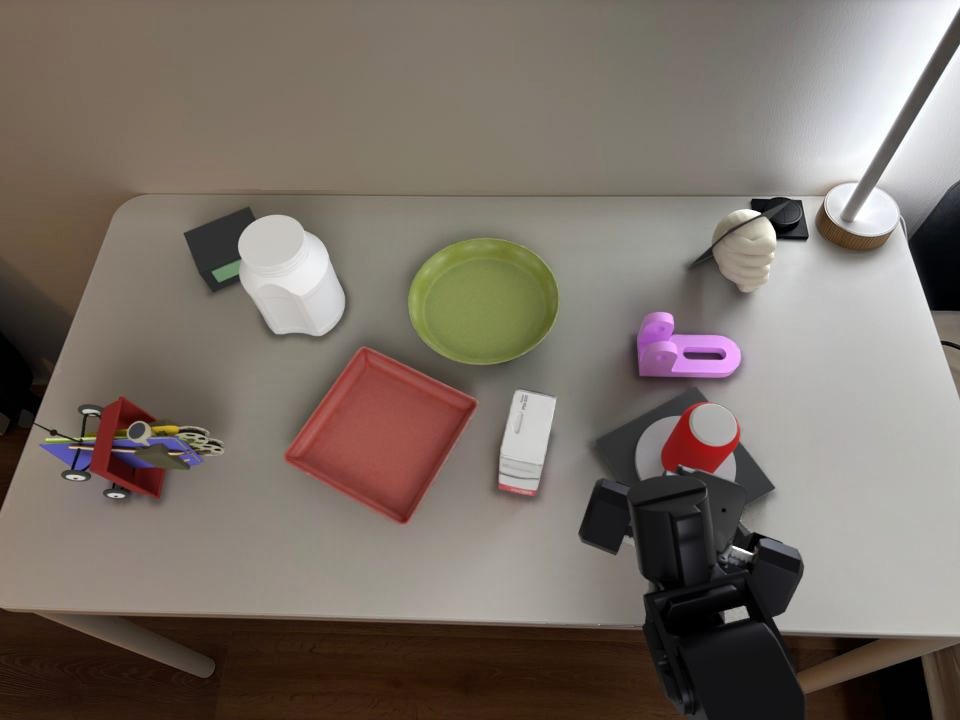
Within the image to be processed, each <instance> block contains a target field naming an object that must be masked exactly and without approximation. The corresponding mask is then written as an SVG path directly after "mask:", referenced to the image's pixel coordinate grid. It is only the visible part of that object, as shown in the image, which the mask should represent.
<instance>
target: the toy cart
mask: <svg viewBox="0 0 960 720" xmlns="http://www.w3.org/2000/svg"><path fill="white" fill-rule="evenodd" d="M77 412H78V413H79V414H80V415H82V416H83V418H82V423H81V424H82V425H81V433H80V436H79V437H71V436H67V435H64V434H62V433H60V432H58V430H57V429H55V428H53V429H49V428H47V427H45V426H43V425H40V424H38V423H36V422H34V417H35V416H34V414H33V413H32V412H31V411H29V410H27V409H24V408H22V409H21V412H20V415H19V419H18V422H17V426H19V427H20V428H25V429H30V428H32V426H33V425H35V426H37V427H39V428H41V429H42V430H45V431H47V432H49V435H50V436H52V437H44V438H43V439H44V440H43V441H44V442H42V443H39V444H38V446H39V447H41V448H42V449H43V450H45V451H46V452H48V453H50V454H51V455H52V456H54V457H56V458H57V459H58V460H60V461H61V462H63V463H65V464H66V465H67V466H69V467H70V469H66V470H63V471H61V473H60V476H61V478H62V479H63V480H66V481H69V482H70V481H71V482H87V481H90V480H91V479H92V474H91V473H93V474H95V475H97V476H99V477H101V478H104V479H106V480H108V481H110V482H112V485H111V488H106V489H104V490H103V491H102V495H103V496H104V497H105V498H108V499H113V500H125V499H128V498H129V497H131V493H130V491H131V492H132V493H133V492H134V493H135V494H140V495H145V496H150V497H152V498H153V499H156V500H160V499H161V495H162V489H163V483H164V477H165V472H166V469H169V470H182V471H183V470H184V471H190V470H191V466H198V465H199V464H200V463H204V461H205V460H204V459H203V458H202V457H201V456H205V457H216V456H221V455H223V454H224V453H225V451H224V449H223V448H225V446H226V443H224V441H222V440H220V439H217V438H212V437H211V438H210V437H209V436H210V432H209V431H208V430H207V429H206V428H203V427H199V426H194V425H193V426H192V425H184V426H180V425H178V424H176V423H174V422H173V421H172V420H171V419H170V418H168V417H166V418H162V419H158V418H156V417H155V416H153V415H151V414H150V413H149V412H147V411H146V410H144V409H142V408H141V407H139V405H137V404H135V403H133V402H132V401H130V400H129V399H127V398H126V397H125V396H122V395H120V396H118V399H117V400H115V401H113V402H111V403H109V404H107V405H106V406H104V407H103V406H101V405H97V404H92V403H85V404H81V405H79V406H78V407H77ZM88 417H89V418H98V419H99V420H100V421H99V424H98V429H97V431H93V432H86V428H87V427H86V426H87V419H88ZM32 424H33V425H32ZM203 431H204V432H203ZM205 432H206V433H205ZM56 436H58V437H56ZM88 471H89V472H88ZM90 472H91V473H90ZM116 485H119V486H121V487H120V488H117V487H116ZM126 489H127V490H126Z"/></svg>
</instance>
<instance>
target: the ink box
mask: <svg viewBox="0 0 960 720" xmlns="http://www.w3.org/2000/svg"><path fill="white" fill-rule="evenodd" d="M556 403H557V396H556V395H553V394H551V393H547V392H544V391H540V390H536V389H530V388H523V387H517V388H515V390H514V392H513V395H512V400H511V403H510V407H509V411H508V416H507V420H506V423H505V429H504V432H503V436H502V441H501V445H500V448H499V451H500V452H499V460H498V461H499V462H498V481H497V482H498V483H497V488H498V489H499V490H503V491H507V492H510V493H515V494H519V495H525V496H532V497H535V496H536V495H537V492H538V488H539V485H540V480H541V478H542V477H541V476H542V472H543V468H544V464H545V459H546V455H547V449H548V444H549V440H550V435H551V430H552V424H553V419H554V413H555V407H556Z"/></svg>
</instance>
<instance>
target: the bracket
mask: <svg viewBox="0 0 960 720" xmlns="http://www.w3.org/2000/svg"><path fill="white" fill-rule="evenodd" d="M639 328H640V329H639V331H638V333H637V337H636V348H637V359H638V360H637V361H638V362H637V363H638V374H639V377H663V378H665V377H666V378H669V377H670V378H674V377H675V378H717V379H719V378H720V379H721V378H726V377H728V376H730V375H732V374H733V373H734V372H735V371H736V370H737V368H738V367H739V365H740V363H741V360H742V354H741V353H742V352H741V350H740V348H739V346H738V345H737V343H735V342H734V341H733V340H732V339H730V338H729V337H726V336H723V335H718V334H717V335H715V334H673V332H674V330H675V323H674V316H673V315H672V314H671V313H669V312H665V311H656V312H651V313H649V314H647V315H646V316H645V317H643V319H642V323H641V325H640V327H639ZM684 353H708V354H709V353H712V354H713V353H714V354H715V353H716V354H719V355H720V356H721V357H722V359H690V358H687V357H686V356H685V355H684Z"/></svg>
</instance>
